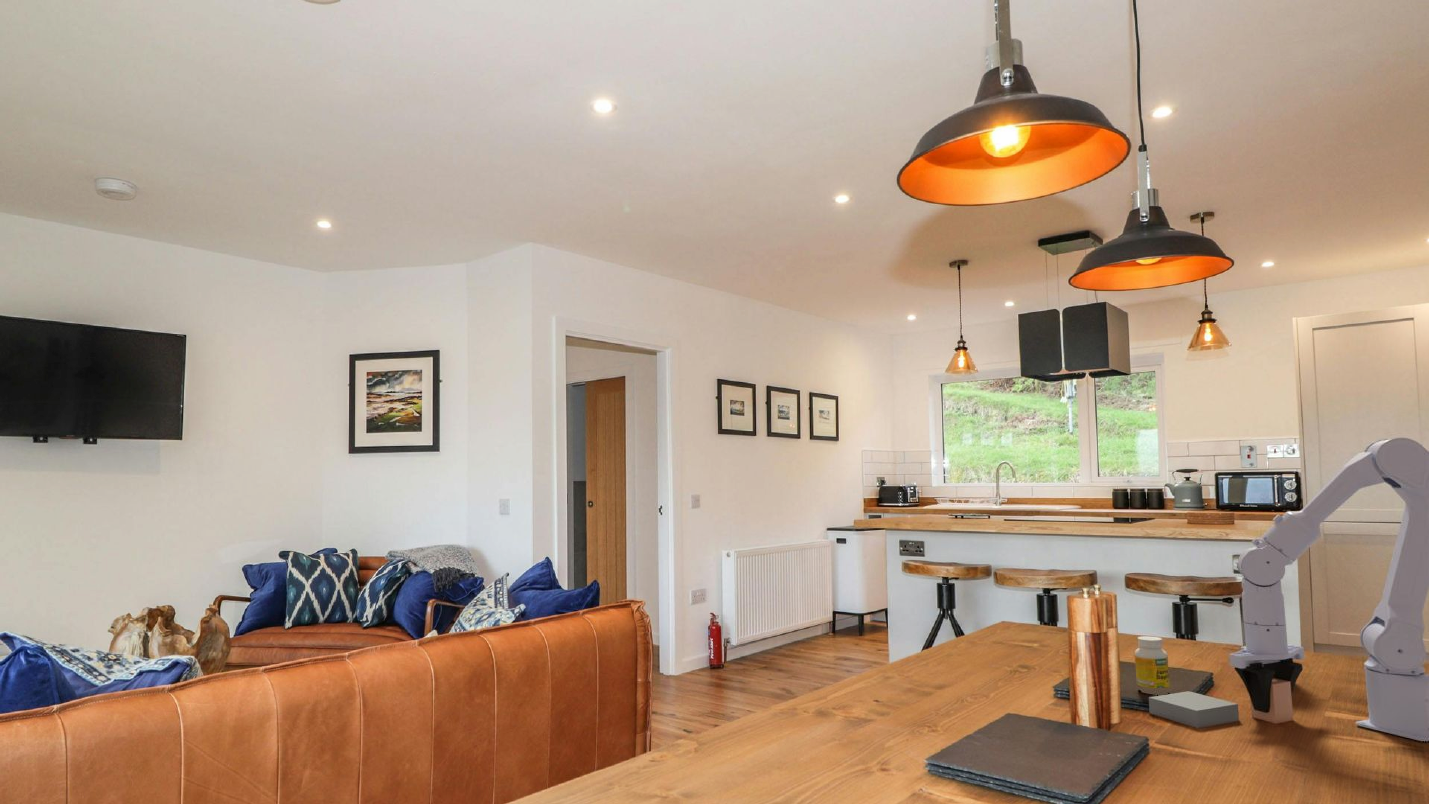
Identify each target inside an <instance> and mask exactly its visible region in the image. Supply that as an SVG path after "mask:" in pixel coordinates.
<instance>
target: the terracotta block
mask: <svg viewBox="0 0 1429 804" xmlns="http://www.w3.org/2000/svg"><path fill="white" fill-rule="evenodd" d="M1292 697H1293V696H1292ZM1292 697H1291V685H1290V681H1285V680H1281V679H1276V678H1273V680H1272V683H1271V690H1270V710H1269V712H1268V713H1264V712H1261V711H1257V710H1254V707H1253V704H1252V702H1251V699H1249V701H1250V710H1251V711H1250V712H1251V713H1250V714H1251V718H1253V719H1254V718H1255V719H1258V720H1261V721H1266V722H1269V723H1272V724H1280V723H1287V722H1291V721H1294V711H1293V699H1292Z"/></svg>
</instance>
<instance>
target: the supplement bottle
mask: <svg viewBox="0 0 1429 804" xmlns="http://www.w3.org/2000/svg"><path fill="white" fill-rule="evenodd" d="M1137 644H1138V647H1139V648H1138V647H1137V649H1135V651H1134V662H1135V663H1134V664H1135V675H1136V676H1135V678H1136V685H1137V684H1138V685H1140V686H1142V687H1149V688H1165V687H1170V688H1171V686H1170V672H1169V670H1170V669H1169V658H1168V657H1169V655H1168V652H1167V651H1165V649H1163V646H1164V644H1163V638H1162V637H1158V636H1149V635H1147V636H1146V635H1144V636H1143V635H1142V636H1138V637H1137Z"/></svg>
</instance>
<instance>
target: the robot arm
mask: <svg viewBox="0 0 1429 804" xmlns="http://www.w3.org/2000/svg"><path fill="white" fill-rule="evenodd" d="M1383 483H1385V484H1387V485H1389V486H1391V488H1392V489H1393V490H1394V491H1395V493H1396V494H1397V495H1398V496H1399V497H1400V498H1401V499H1402V501H1404V503H1405V506H1404V510H1403V513H1402V518H1401V522H1400V525H1399V529H1398V533H1397V536H1396V537H1397V538H1396V541H1395V544H1394V549H1393V553H1392V556H1391V562H1390V564H1389V568H1388V572H1387V576H1386V581H1385V585H1384V588H1383V592H1382V596H1381V600H1380V601H1379V603H1378V604H1377V606H1376V607H1375V609H1374V611H1373V613H1372V617H1371V618H1370V621H1369V622H1367V624H1365V625H1364V626H1363V628H1361V631H1360V635H1359V641H1360V645H1361V646H1362V648H1363V650H1364V651H1365V652H1366V653H1367V654H1369V656H1368V657H1367V659H1366V661H1364V662H1363V664H1364V675H1365V688H1366V697H1367V710H1368V718H1367V719H1363V720H1358V721H1355V725H1356V726H1359V727H1363V728H1366V729H1371V730H1374V731H1378V732H1382V733H1385V734H1387V733H1388V734H1390V735H1393V736H1399V737H1403V738H1407V739H1411V740H1416V741H1419V742H1423V741H1424V742H1425V741H1426V742H1429V674H1428V673H1426V671H1425V670H1426V669H1425V667H1424V666H1423V665H1424V663H1425V661H1426V658H1427V649H1426V646H1425V644H1424V633H1425V629H1426V627H1425V622H1424V616H1423V611H1424V608H1425V603H1426V599H1427V595H1428V591H1429V450H1428V449H1427V448H1425V447H1424V445H1422V444H1421V443H1419V442H1418V441H1416V440H1414V439H1412V438H1409V437H1408V438H1407V437H1394V438H1391V439H1390V438H1385V439H1383V438H1382V439H1378V440H1375V441H1373V442H1370V443H1369V445H1367V446H1366V448H1365V449H1364V451H1363V452H1362V451H1361V452H1359V453H1358V454H1355V456H1354V457H1352V458H1351V459H1350V460H1349V461H1348V462H1346V463H1345V464H1344V465H1343V466H1342V467H1341V468H1340V469H1339V470H1338V471H1337V472H1336V473H1335V474H1334V475H1333V476H1332V477H1331V478H1330V479H1329V480H1328V481H1327V482H1326V484H1325V485H1324V486H1323V487H1322V488H1320V490H1319V491H1318V492H1317V493H1316V494H1315V495H1314V497H1313V496H1312V498H1311V499H1310V500H1309V502H1308V503H1306V505H1305V506H1304V507H1303V508H1302V509H1301V510H1297V511H1286V512H1285V513H1283V515H1280V514H1276V516H1274V517H1273V519H1272V522H1274V524H1272V525H1271V526H1270V528H1268V529H1267V530H1266V531H1265V532H1264V533H1263V534H1262V535H1261V536H1260V537H1259V538H1256V537H1255V538H1253V539H1252V541H1251V543H1252V545H1254V546H1252V547H1249V548H1247V549H1244V550H1243V551H1242V553H1241V554H1240V555H1239V557H1238V562H1237V563H1236V567H1237V570H1238V572H1239V573H1240V575H1242V576H1243V577H1242V579H1241V580H1242V581H1241V589H1242V592H1241V595H1242V603H1243V616H1244V628H1245V641H1246V646H1243V645H1242V646H1241V647H1240V650H1239V651H1236V652H1233V653H1229V656H1228V657H1229V667H1233V668H1234V670H1235V671H1236V674H1238V676H1239V677H1240V680H1241V681H1242V682H1243V683H1244V686H1245V688H1246V690H1247V693H1248V695H1249V698H1250V699H1251V701H1250V703H1251V702H1252V704H1253V707H1254V710H1257V711H1261V712H1264V713H1268V712H1269V710H1270V690H1271V683H1272V680H1273V678H1276V679H1281V680H1285V681H1290V685H1291V697H1293V692H1294V687H1295V685H1296V682H1297V680H1298V678H1299V676H1300V674H1301V673H1302V672H1303V670H1304V669H1303V664H1302V663H1299V662H1294V660H1298V661H1301V660H1305V658H1306V657H1305V648H1304V647H1302V646H1298V645H1288V635H1287V633H1288V632H1287V621H1286V610H1285V600H1284V599H1285V598H1284V597H1285V596H1284V594H1283V593H1282V592H1283V590H1282V581H1281V580H1283V578H1284V576H1285V574H1286V567H1287V566H1289V565H1290V566H1291V565H1293V563H1294V562H1296V561H1297V560H1298V559H1299V558H1300V557H1301V556H1302V555H1303V554H1304V553H1306V551H1307V550H1309V548H1310V547H1312V545H1314V543H1316V542H1317V540H1319V539H1320V538H1321V535H1322V534H1321V526H1320V525H1321V524H1322V523H1323V522H1324V521H1325V520H1326V519H1328V517H1330V516H1331V515H1332V514H1334V512H1335V511H1337V510H1338V509H1339V508H1340V507H1341V506H1342V505H1344V504H1345V502H1346V501H1348V500H1349V499H1351V497H1352V496H1354V495H1355V493H1356V494H1357V492H1358V491H1359V490H1360V489H1363V488H1367V487H1371V486H1376V485H1379V484H1383ZM1263 666H1264V667H1263ZM1250 699H1249V700H1250ZM1426 742H1425V743H1426Z"/></svg>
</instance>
